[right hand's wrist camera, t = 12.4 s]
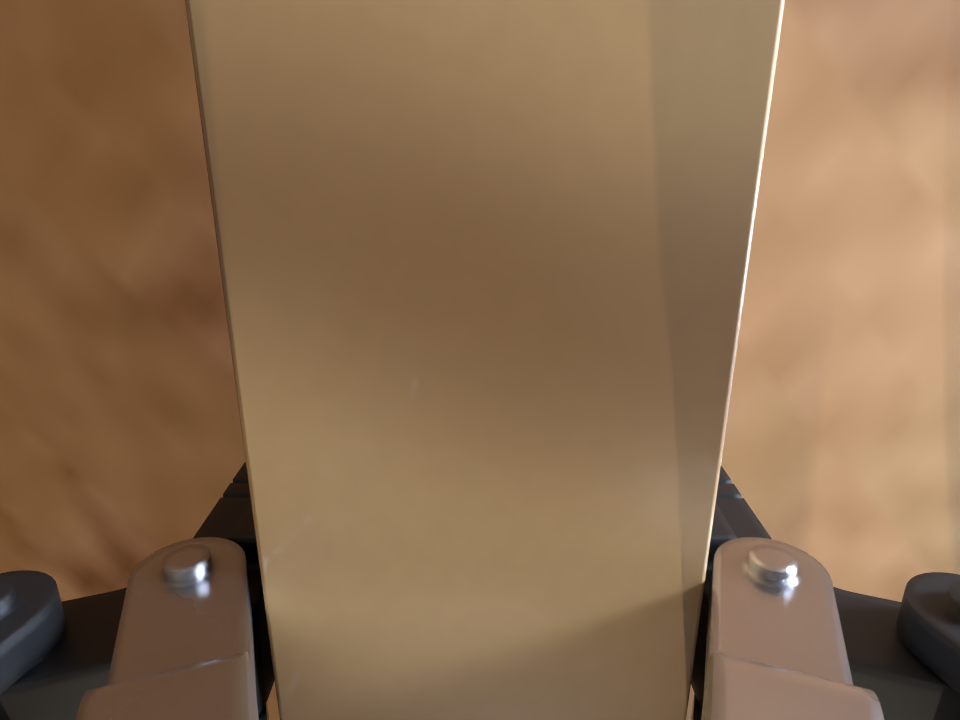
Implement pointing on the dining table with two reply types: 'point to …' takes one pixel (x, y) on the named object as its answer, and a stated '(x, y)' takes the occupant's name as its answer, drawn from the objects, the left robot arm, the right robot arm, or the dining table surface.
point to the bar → (483, 336)
